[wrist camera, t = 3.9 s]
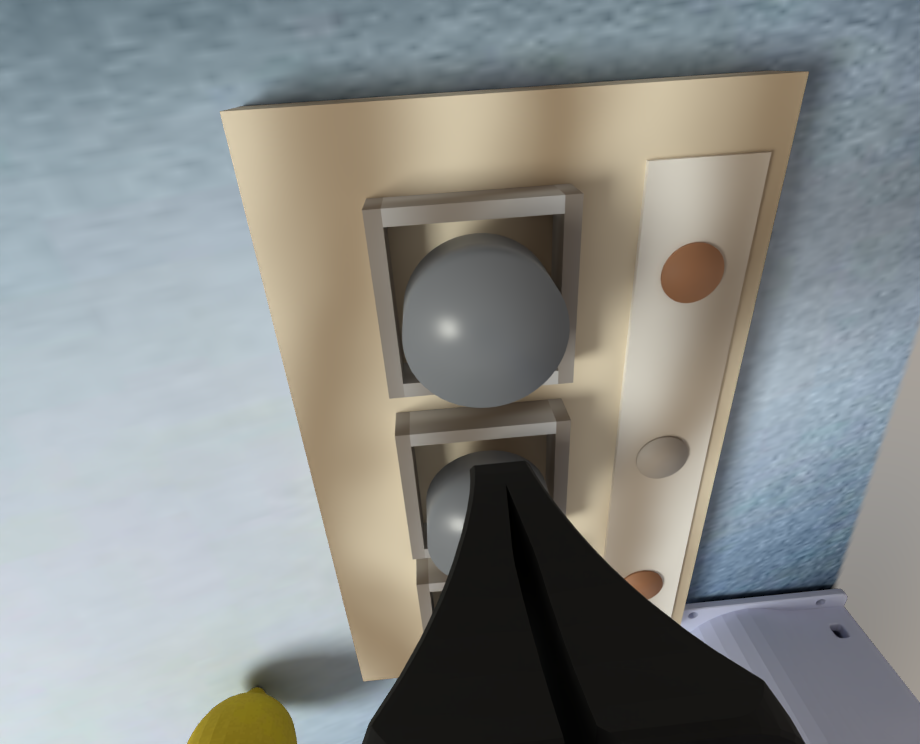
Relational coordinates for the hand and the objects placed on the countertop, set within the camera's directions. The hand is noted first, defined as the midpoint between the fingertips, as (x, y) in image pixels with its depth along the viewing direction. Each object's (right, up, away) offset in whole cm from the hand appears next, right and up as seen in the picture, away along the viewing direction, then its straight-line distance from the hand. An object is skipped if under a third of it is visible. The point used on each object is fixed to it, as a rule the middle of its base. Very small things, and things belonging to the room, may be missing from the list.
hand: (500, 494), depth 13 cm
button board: (+1, 0, +10) cm, 10 cm away
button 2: (0, +5, +3) cm, 6 cm away
